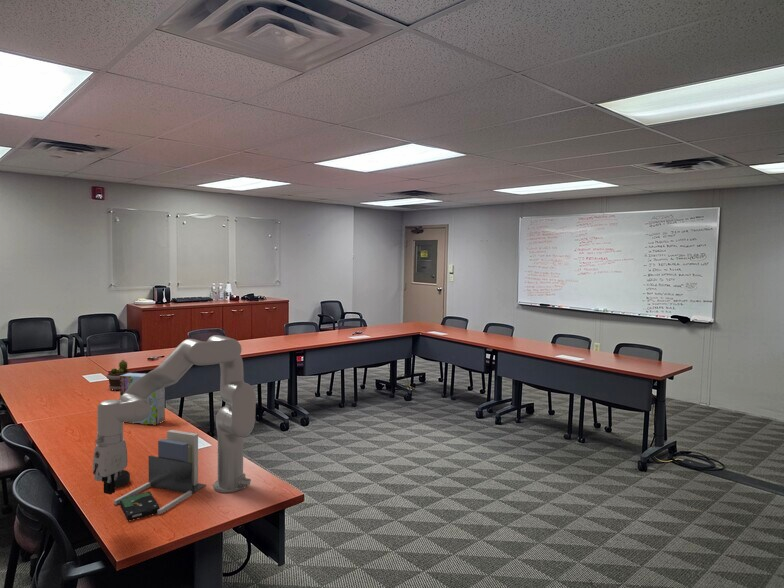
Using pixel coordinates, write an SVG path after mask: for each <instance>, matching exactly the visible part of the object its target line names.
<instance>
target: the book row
mask: <svg viewBox="0 0 784 588" xmlns="http://www.w3.org/2000/svg"><path fill="white" fill-rule="evenodd" d="M157 455H158V456H157V457H161V458H167V459H173V460H178V461H184V462H189V463H192V486H195V485H197V484H198V483H199V434H198V433H194V432H188V431H184V430H183V431H182V430H176V429H170V430H167V431H166V439H165V438H161V439H159V440H158V441H157Z"/></svg>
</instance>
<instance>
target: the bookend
mask: <svg viewBox="0 0 784 588" xmlns="http://www.w3.org/2000/svg"><path fill="white" fill-rule="evenodd" d="M148 482H149V483H151V488H156V489H160V490H161V489H162V490H167V491H172V492H176V493H180V494H184V493H186V492H188V491H192V495H193V494H195V493H197V492H198V491H200V490H201V489H203V488H205V487H206V486H207V484H205V483H199V482H198V484H197V485H195V486H192V463H189V462H184V461H178V460H173V459H167V458H161V457H158V456H155V455H148Z"/></svg>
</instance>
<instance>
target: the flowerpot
mask: <svg viewBox="0 0 784 588" xmlns="http://www.w3.org/2000/svg"><path fill="white" fill-rule="evenodd" d="M128 368H129V366H128V361H126V360H125V359H124V358H123V359H122V360H120V361H119V362H118V367H117V368H115V367H114V368H111V369H110V371H109V372H108V373H107V374H106V379H107V380H108V383H109V385H108V387H109V389H110V390H111V389H113V390H117V391H119V390H120V375H124V374H127V373H132V372H131V370H128Z"/></svg>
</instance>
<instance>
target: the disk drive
mask: <svg viewBox="0 0 784 588" xmlns="http://www.w3.org/2000/svg"><path fill="white" fill-rule="evenodd" d="M119 506H120V508H121V510H122V513H123V514H125V515H124V516H126V517H125V519H126V520H128V521H127V522H130V521H129V520H131V521H134V520H133V519H135V520H138V519H137V518H139V519H142V518H141V517H143V518H146V517H145V516H147V517H150V516H153V515H152V514H154V515H157V514H156V513H157V510H158V509H160V508H161V507H160V505H159V503H158V502H157V500H156V499H155V497H154V496H153V494H152V493H151V491H146V492H142V493H141V492H140V493H138V494H136V495H134V496H131V497H127V498H121V500H120V503H119ZM149 515H150V516H149Z"/></svg>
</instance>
